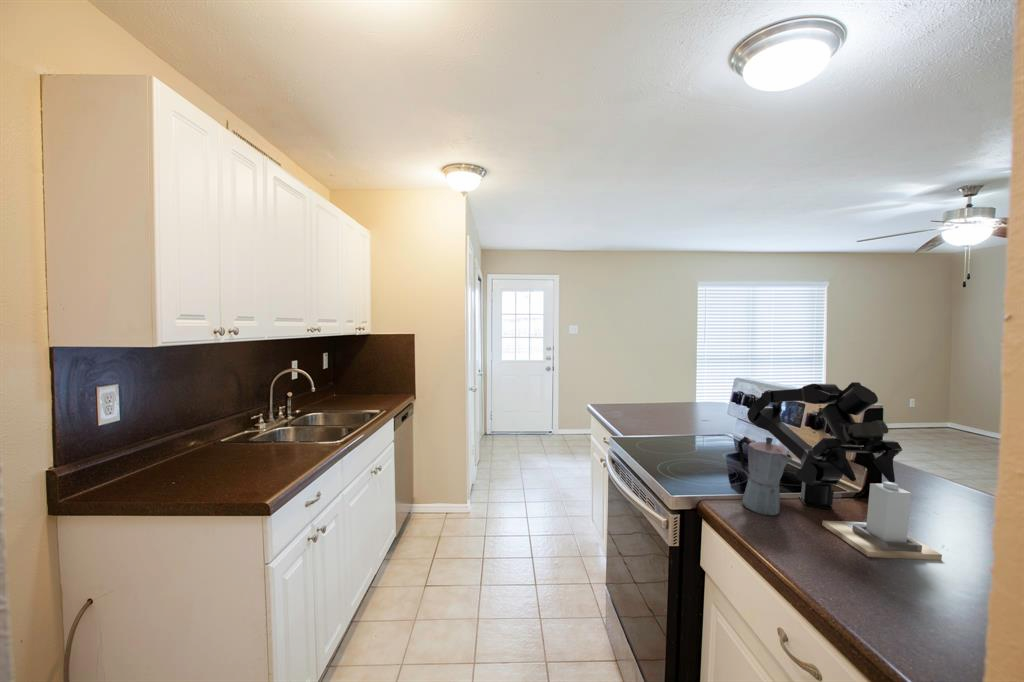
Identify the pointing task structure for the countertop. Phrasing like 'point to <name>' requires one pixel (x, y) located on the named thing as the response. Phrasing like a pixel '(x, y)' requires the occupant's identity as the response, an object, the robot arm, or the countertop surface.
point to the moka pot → (763, 475)
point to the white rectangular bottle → (888, 512)
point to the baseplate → (879, 542)
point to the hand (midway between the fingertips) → (873, 481)
